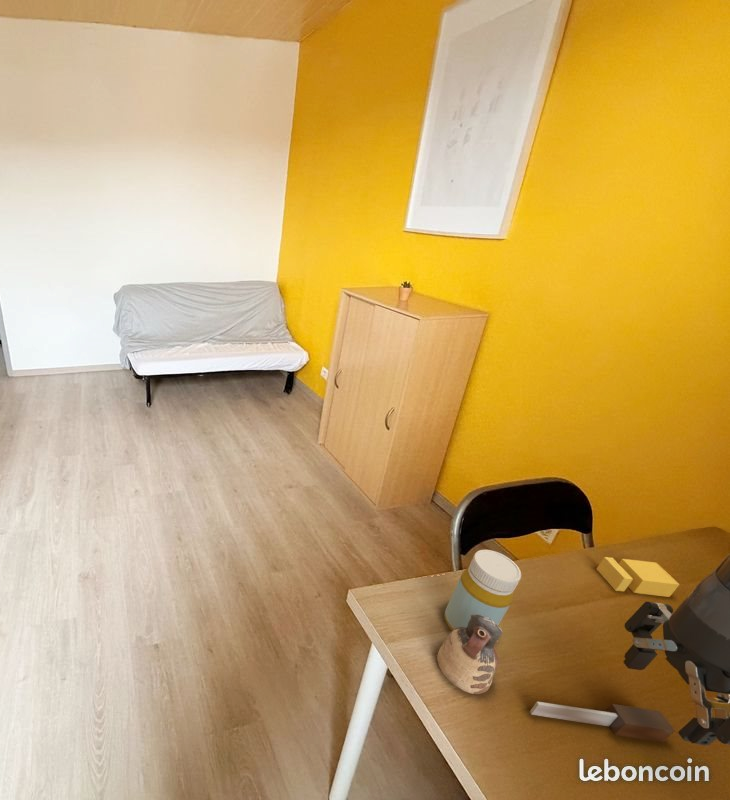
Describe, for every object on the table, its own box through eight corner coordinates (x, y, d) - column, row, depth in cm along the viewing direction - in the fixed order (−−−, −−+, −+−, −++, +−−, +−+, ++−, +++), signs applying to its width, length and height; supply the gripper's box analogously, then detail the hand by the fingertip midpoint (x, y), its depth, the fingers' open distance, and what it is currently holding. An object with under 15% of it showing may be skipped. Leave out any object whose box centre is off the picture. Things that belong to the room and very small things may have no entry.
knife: (646, 724, 58) (660, 710, 56) (660, 744, 56) (675, 731, 54) (523, 705, 60) (533, 691, 58) (533, 724, 58) (544, 710, 56)
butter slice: (602, 571, 81) (612, 557, 80) (622, 593, 77) (633, 579, 75) (594, 570, 82) (604, 556, 80) (613, 592, 77) (624, 578, 75)
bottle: (433, 616, 72) (461, 555, 65) (461, 602, 75) (490, 542, 68) (471, 653, 66) (505, 590, 59) (499, 637, 69) (535, 575, 62)
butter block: (645, 576, 81) (656, 562, 79) (667, 599, 76) (679, 584, 74) (611, 573, 81) (621, 558, 79) (632, 594, 77) (643, 580, 75)
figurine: (497, 679, 63) (528, 629, 57) (473, 706, 59) (504, 656, 54) (450, 640, 68) (474, 591, 63) (426, 663, 65) (449, 614, 59)
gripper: (856, 693, 40) (748, 773, 47) (712, 572, 52) (645, 650, 60) (767, 680, 40) (675, 761, 48) (647, 564, 53) (588, 642, 60)
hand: (658, 699), depth 54 cm, fingers open, 8 cm apart
